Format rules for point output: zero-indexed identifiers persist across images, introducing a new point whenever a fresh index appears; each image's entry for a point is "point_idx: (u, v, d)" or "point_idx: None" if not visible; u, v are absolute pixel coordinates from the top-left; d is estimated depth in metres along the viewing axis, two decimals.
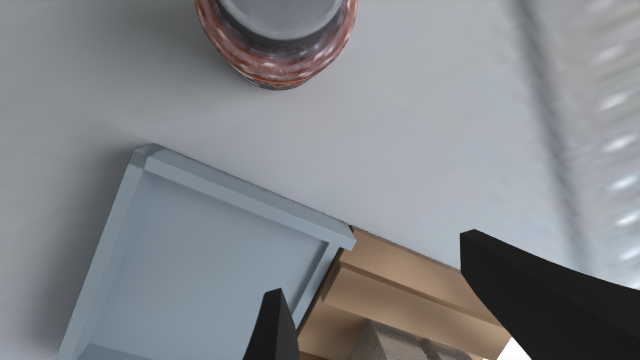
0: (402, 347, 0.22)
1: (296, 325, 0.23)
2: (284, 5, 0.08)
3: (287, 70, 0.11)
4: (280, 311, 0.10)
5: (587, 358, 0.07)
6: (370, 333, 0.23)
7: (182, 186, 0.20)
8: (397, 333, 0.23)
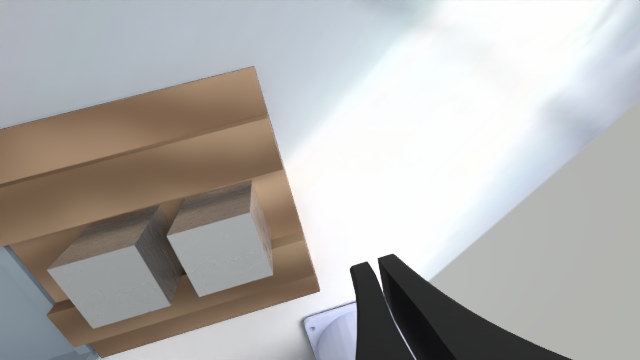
0: (106, 237, 0.16)
1: (29, 281, 0.18)
2: None
3: None
4: (377, 281, 0.10)
5: None
6: None
7: None
8: (123, 220, 0.17)
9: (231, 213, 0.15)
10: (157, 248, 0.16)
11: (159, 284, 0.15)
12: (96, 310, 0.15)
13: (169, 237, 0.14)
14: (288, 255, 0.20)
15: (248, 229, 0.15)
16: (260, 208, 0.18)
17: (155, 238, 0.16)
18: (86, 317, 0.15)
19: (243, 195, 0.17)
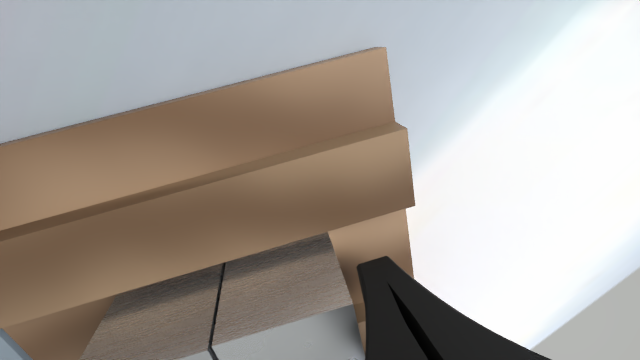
0: (151, 322, 0.10)
1: None
2: None
3: None
4: (385, 279, 0.10)
5: None
6: None
7: None
8: (172, 286, 0.11)
9: (320, 302, 0.09)
10: None
11: None
12: None
13: (216, 348, 0.08)
14: None
15: (346, 329, 0.09)
16: None
17: None
18: None
19: (324, 260, 0.10)
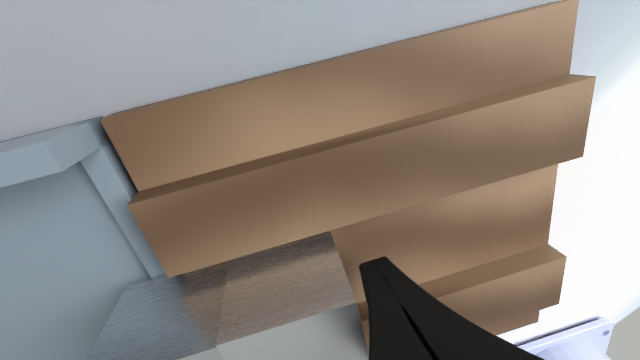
0: (160, 319, 0.10)
1: None
2: None
3: None
4: (388, 278, 0.10)
5: None
6: None
7: None
8: (179, 284, 0.11)
9: (323, 301, 0.09)
10: None
11: None
12: None
13: (220, 347, 0.08)
14: (539, 278, 0.14)
15: (349, 328, 0.09)
16: None
17: None
18: None
19: (327, 259, 0.10)
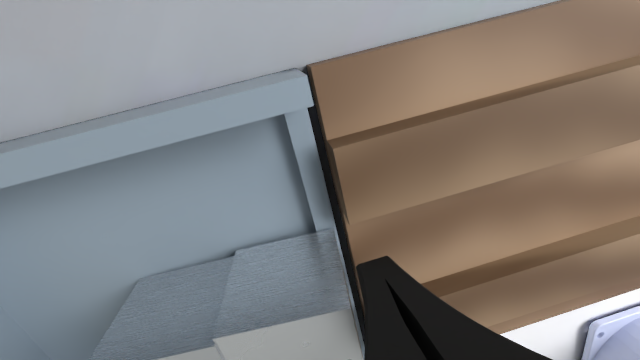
0: (166, 314, 0.10)
1: None
2: None
3: None
4: (384, 279, 0.10)
5: None
6: None
7: None
8: (187, 280, 0.12)
9: (318, 304, 0.09)
10: None
11: None
12: None
13: (217, 341, 0.09)
14: None
15: (343, 332, 0.09)
16: None
17: None
18: None
19: (328, 261, 0.10)
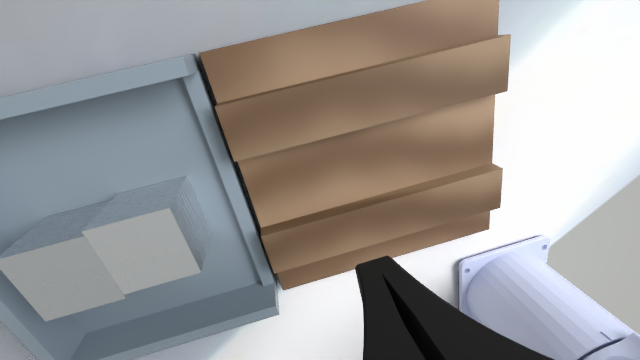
0: (59, 228, 0.15)
1: (243, 204, 0.19)
2: None
3: None
4: (383, 279, 0.10)
5: None
6: None
7: None
8: (80, 212, 0.17)
9: (152, 209, 0.14)
10: None
11: None
12: (48, 302, 0.15)
13: (84, 233, 0.14)
14: (484, 184, 0.20)
15: (169, 225, 0.15)
16: (196, 204, 0.18)
17: None
18: (37, 309, 0.15)
19: (171, 190, 0.16)
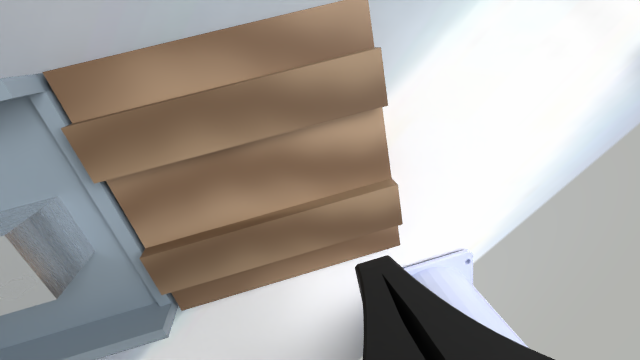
0: None
1: (122, 224, 0.18)
2: None
3: None
4: (383, 279, 0.10)
5: None
6: None
7: None
8: None
9: None
10: None
11: None
12: None
13: None
14: (380, 201, 0.19)
15: (9, 253, 0.14)
16: (69, 226, 0.17)
17: None
18: None
19: (27, 214, 0.15)
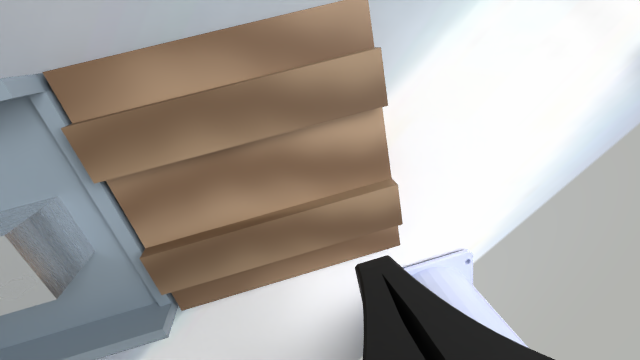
0: None
1: (122, 224, 0.18)
2: None
3: None
4: (383, 279, 0.10)
5: None
6: None
7: None
8: None
9: None
10: None
11: None
12: None
13: None
14: (380, 201, 0.19)
15: (9, 253, 0.14)
16: (69, 226, 0.17)
17: None
18: None
19: (27, 214, 0.15)
